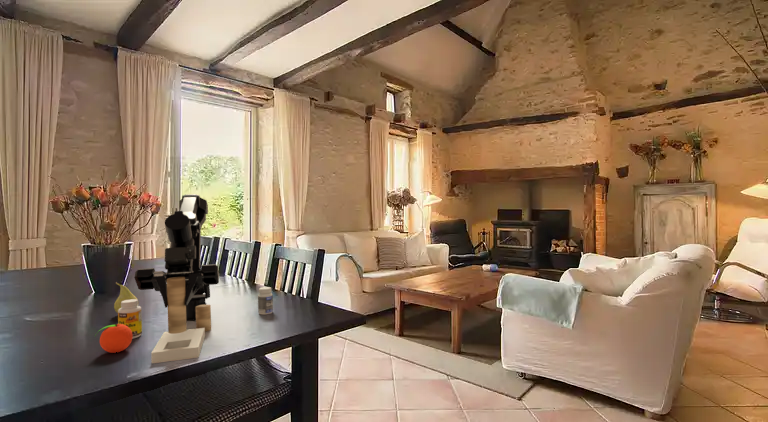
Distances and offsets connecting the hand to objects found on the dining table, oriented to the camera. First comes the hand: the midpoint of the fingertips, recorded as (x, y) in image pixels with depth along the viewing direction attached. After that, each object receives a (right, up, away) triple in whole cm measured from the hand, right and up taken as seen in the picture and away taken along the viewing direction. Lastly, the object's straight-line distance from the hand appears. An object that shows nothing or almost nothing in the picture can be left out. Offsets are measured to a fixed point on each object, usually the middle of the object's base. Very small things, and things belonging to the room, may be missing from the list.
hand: (175, 305), depth 97 cm
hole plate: (-2, -12, +5) cm, 14 cm away
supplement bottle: (-20, -13, +15) cm, 28 cm away
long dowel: (0, -7, +1) cm, 7 cm away
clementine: (-17, -13, +4) cm, 22 cm away
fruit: (-36, -12, +37) cm, 53 cm away
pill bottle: (+11, -12, +37) cm, 41 cm away
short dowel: (-2, -12, +20) cm, 24 cm away
